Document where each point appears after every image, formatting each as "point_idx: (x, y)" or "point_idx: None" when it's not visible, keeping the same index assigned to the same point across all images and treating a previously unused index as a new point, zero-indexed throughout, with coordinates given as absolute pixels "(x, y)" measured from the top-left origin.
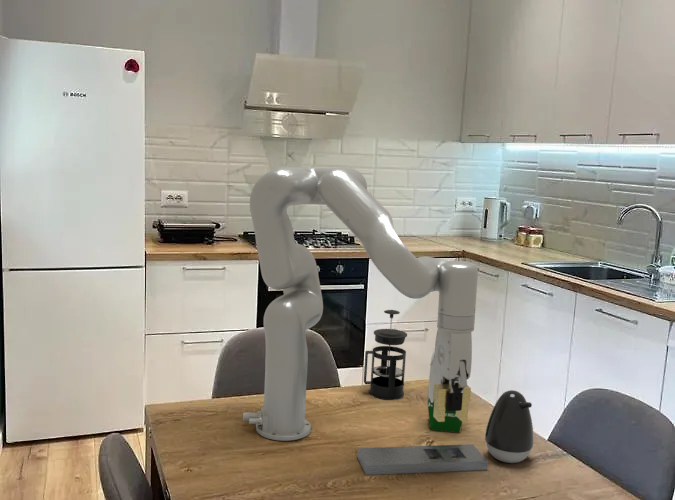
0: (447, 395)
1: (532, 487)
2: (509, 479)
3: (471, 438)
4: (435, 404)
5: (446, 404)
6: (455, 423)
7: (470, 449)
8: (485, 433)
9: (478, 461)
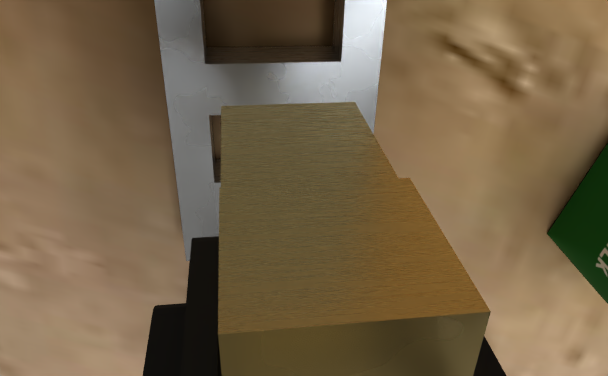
0: (195, 364)
1: (46, 337)
2: (106, 286)
3: (483, 260)
4: (342, 165)
5: (214, 270)
6: (578, 241)
7: None
8: None
9: (182, 222)
